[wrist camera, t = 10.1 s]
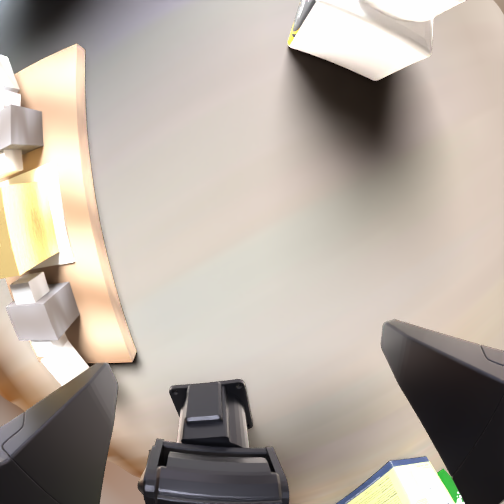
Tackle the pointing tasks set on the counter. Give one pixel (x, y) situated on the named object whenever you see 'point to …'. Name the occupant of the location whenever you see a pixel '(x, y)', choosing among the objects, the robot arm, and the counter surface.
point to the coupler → (25, 228)
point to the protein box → (402, 485)
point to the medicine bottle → (367, 32)
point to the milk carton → (450, 486)
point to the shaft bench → (60, 220)
